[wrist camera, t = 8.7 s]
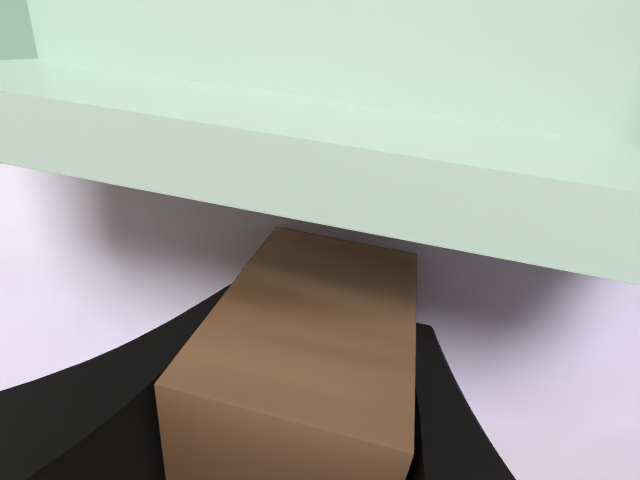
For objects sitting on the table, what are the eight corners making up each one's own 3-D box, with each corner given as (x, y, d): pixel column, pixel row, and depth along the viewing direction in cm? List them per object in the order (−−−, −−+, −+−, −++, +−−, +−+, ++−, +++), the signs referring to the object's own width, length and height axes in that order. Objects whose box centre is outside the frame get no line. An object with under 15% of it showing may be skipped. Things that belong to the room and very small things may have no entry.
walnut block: (389, 363, 13) (368, 590, 7) (269, 335, 13) (171, 526, 8) (417, 254, 11) (413, 453, 6) (275, 227, 11) (154, 383, 6)
